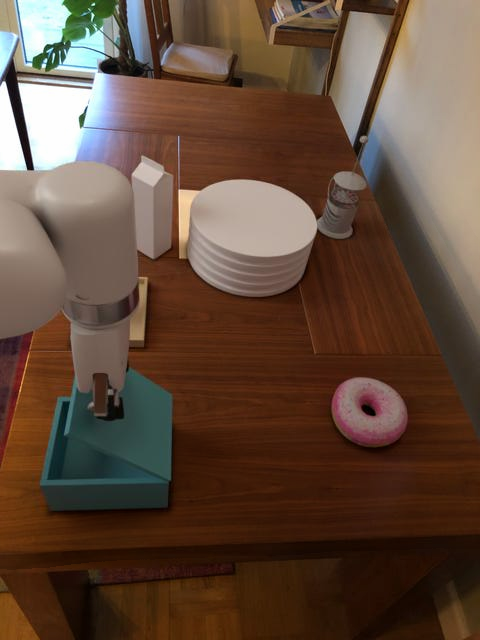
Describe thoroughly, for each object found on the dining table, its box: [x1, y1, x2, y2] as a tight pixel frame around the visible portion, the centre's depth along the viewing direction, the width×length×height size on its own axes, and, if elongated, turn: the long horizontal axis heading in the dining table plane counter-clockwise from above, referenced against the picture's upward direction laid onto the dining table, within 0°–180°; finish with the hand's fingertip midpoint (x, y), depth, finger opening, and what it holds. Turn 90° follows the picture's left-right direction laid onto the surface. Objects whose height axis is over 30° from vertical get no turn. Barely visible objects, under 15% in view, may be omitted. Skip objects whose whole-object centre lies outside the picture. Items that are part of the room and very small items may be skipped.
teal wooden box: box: [39, 396, 170, 512], centre depth 71 cm, size 17×14×9 cm
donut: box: [330, 376, 409, 448], centre depth 84 cm, size 14×13×5 cm
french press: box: [316, 135, 369, 240], centre depth 116 cm, size 10×12×25 cm
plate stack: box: [187, 179, 318, 298], centre depth 108 cm, size 28×28×12 cm
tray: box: [69, 276, 149, 348], centre depth 94 cm, size 17×13×2 cm
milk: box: [131, 154, 174, 260], centre depth 102 cm, size 6×6×22 cm
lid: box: [64, 366, 173, 482], centre depth 62 cm, size 17×14×5 cm
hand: (113, 392), depth 59 cm, fingers closed on lid, 6 cm apart
